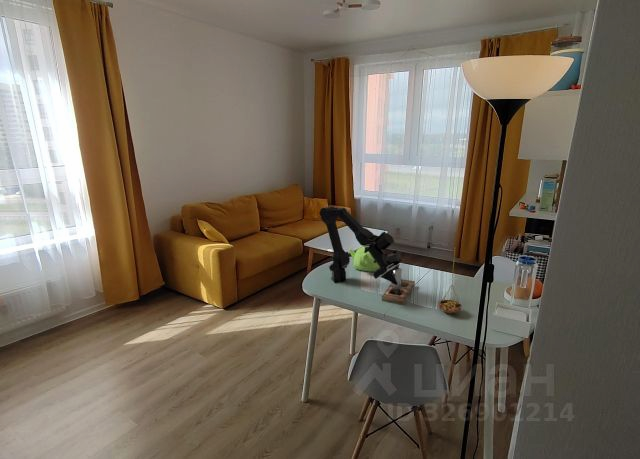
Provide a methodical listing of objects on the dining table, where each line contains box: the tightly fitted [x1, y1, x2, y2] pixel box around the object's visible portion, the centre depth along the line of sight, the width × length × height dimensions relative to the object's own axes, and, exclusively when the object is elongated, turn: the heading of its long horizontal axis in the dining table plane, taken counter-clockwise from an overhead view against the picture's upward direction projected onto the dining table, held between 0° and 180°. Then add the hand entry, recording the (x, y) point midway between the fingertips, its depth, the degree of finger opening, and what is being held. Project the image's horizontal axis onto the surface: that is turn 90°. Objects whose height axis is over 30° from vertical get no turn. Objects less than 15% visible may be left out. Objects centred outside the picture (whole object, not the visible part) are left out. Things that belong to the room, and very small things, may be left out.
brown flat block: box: [381, 278, 416, 306], centre depth 163 cm, size 22×10×3 cm, turn 153°
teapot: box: [348, 245, 380, 273], centre depth 194 cm, size 18×20×13 cm
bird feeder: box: [438, 248, 462, 314], centre depth 141 cm, size 9×9×30 cm
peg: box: [391, 267, 403, 296], centre depth 157 cm, size 4×4×13 cm
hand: (399, 282), depth 156 cm, fingers closed on peg, 4 cm apart
